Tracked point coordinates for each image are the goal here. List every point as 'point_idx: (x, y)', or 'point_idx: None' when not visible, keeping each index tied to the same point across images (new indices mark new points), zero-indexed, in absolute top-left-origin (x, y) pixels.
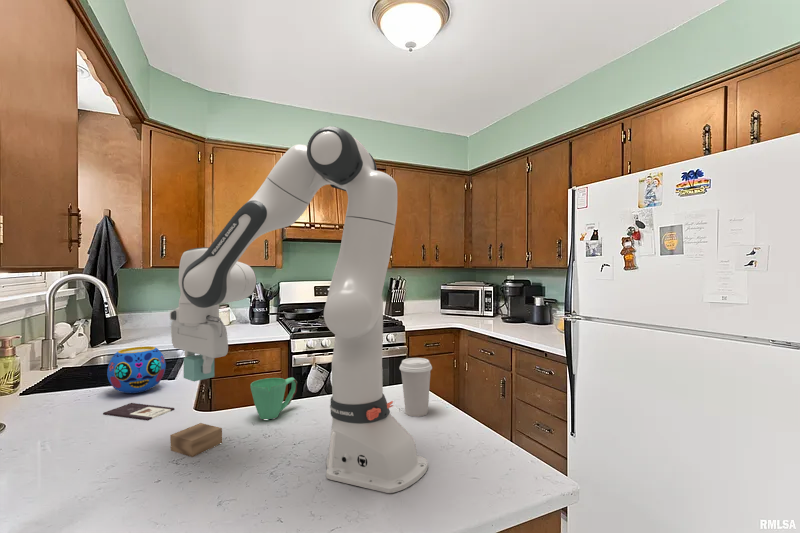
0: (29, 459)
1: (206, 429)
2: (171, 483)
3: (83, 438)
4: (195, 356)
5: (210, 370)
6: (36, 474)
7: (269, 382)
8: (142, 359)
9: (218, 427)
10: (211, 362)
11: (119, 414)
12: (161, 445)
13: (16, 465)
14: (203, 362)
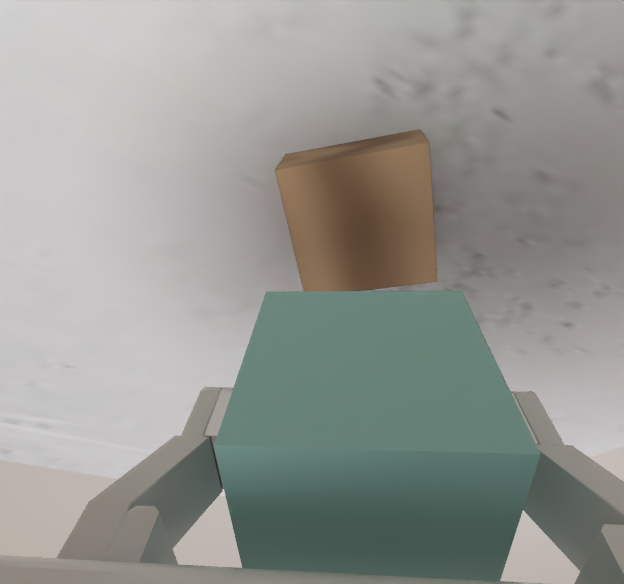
0: (91, 452)
1: (377, 193)
2: (525, 353)
3: (14, 365)
4: (306, 549)
5: (540, 406)
6: None
7: None
8: None
9: (407, 149)
10: (610, 487)
11: None
12: (243, 269)
13: (111, 468)
14: (562, 549)
